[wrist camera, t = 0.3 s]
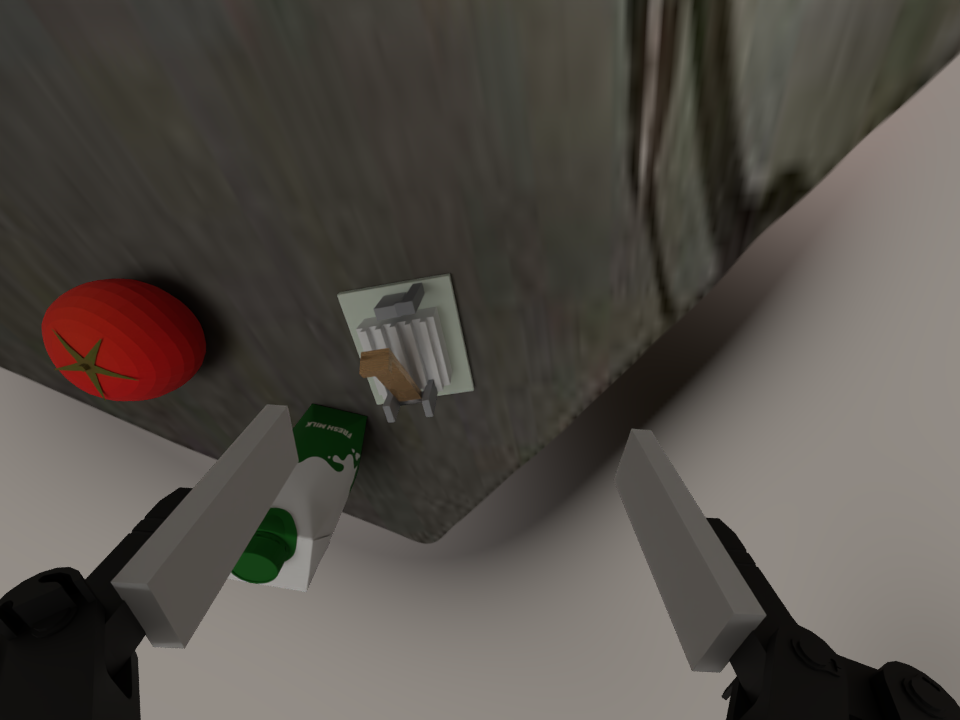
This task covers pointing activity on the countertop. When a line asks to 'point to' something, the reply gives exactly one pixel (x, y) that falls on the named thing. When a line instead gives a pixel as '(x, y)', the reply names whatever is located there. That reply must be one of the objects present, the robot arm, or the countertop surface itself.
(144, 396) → the tomato
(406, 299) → the base
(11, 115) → the countertop surface
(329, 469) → the milk carton
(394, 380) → the wooden bar
